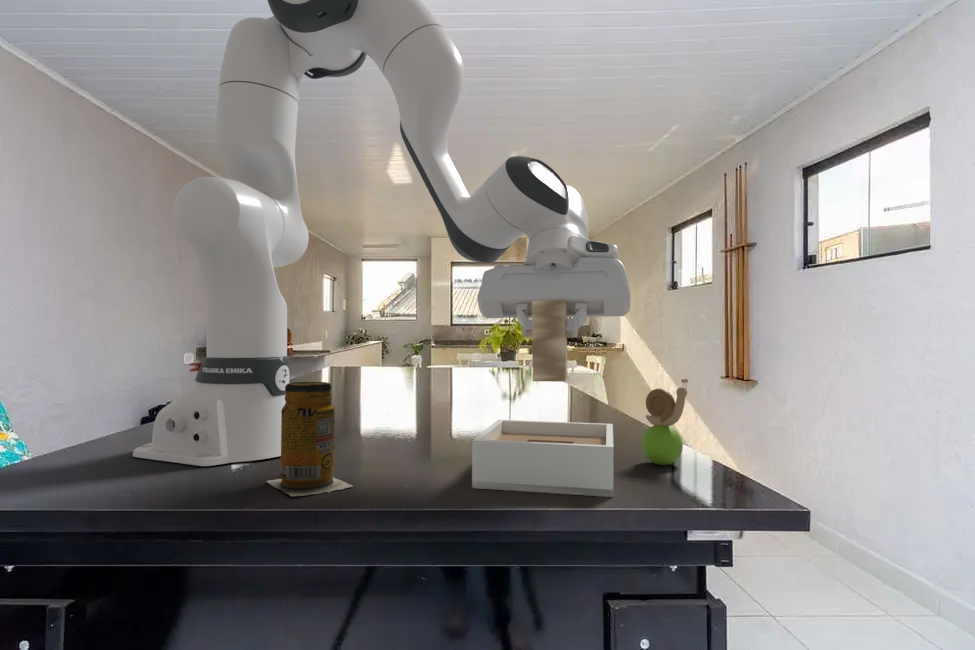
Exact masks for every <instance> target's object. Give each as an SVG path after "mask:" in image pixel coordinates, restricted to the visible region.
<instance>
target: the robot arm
mask: <svg viewBox="0 0 975 650" xmlns="http://www.w3.org/2000/svg"><path fill="white" fill-rule="evenodd" d="M267 3H268V7H269V9H270V11H271V12H272V15H273V16H271V17H267V18H264V17H257V16H255V17H247V18H242V19H241V20H239V21H237V22H236V23H235V24H234V25H233V27H232V29H231V30H230V34H229V37H228V40H227V42H226V45H225V50H224V54H223V58H222V63H221V69H220V76H219V84H218V93H217V94H218V95H217V107H216V109H217V110H216V118H215V131H214V140H215V141H214V142H215V145H216V149H217V151H218V153H219V155H220V157H221V159H222V162H223V164H224V168H225V171H226V177H227V178H225V177H216V176H201V177H197V178H195V179H192V180H190V181H189V182H188V183H186V184H185V185H183V187H182V188H181V189H180V190H179V191H178V193H177V195H176V196H175V199H174V202H173V206H172V220H173V221H172V222H173V225H174V228H175V230H176V231H177V233H178V235H179V236H180V237H181V238H182V239H183V241H184V243H186V245H187V247H188V248H189V251H190V253H191V255H192V258H193V260H194V263H195V266H196V270H197V273H198V276H199V279H200V283H201V287H202V292H203V296H204V301H205V316H206V318H205V319H206V323H205V325H206V328H205V329H206V330H205V331H206V356H205V357H203V359H202V361H200V362H193V363H189V364H188V365H189V366H194V367H193V368H190V369H189V370H188V371H189V372H197V374H196V376H195V378H194V381H195V383H193V384H192V385H191V386H190V387H189V388H187V389H186V390H185V391H183V392H182V393H181V394H180V395H178V396H177V397H176V398H175V399H173V400H172V401H170V402H169V403H168V404H166V406H164V407H163V408H161V410H159V412H158V413H157V415H156V417H155V419H154V423H153V427H152V428H153V430H152V435H151V436H152V437H151V438H152V440H151V442H148V443H146V444H143V445H140V446H138V447H136V448H135V449H133V451H132V452H133V453H132V457H134V458H140V459H147V460H154V461H162V462H170V463H176V464H177V463H178V464H184V465H191V466H199V467H211V466H217V465H225V464H230V463H239V462H240V463H241V462H252V461H259V460H265V459H271V458H278V457H281V416H282V414H281V411H282V408H283V407H284V405H285V404H286V401H285V395H286V393H285V387H286V385H287V384H288V383H291V358H290V357H289V355H288V304H287V302H286V300H285V298H284V297H283V295H282V293H281V291H280V287H279V285H278V282H277V278H276V274H275V270H274V268H280V267H286V266H290V265H292V264H295V263H296V262H298V261H300V259H301V258H302V257H303V256H304V254H305V252H306V250H307V248H308V245H309V241H310V240H309V239H310V238H309V237H310V236H309V230H308V227H307V224H306V222H305V220H304V218H303V214H302V213H303V212H302V207H301V206H302V205H301V200H300V191H299V184H298V183H299V182H298V176H297V168H296V167H297V166H296V142H297V129H298V128H297V126H298V113H299V105H300V104H299V103H300V102H299V101H300V88H301V87H300V86H301V82H302V79H303V76H304V75H305V76H306V77H308V78H309V79H311V80H318V79H323V78H326V77H327V78H340V77H345V76H348V75H351V74H353V73H355V72H357V71H358V70H359V69H360V68H361V67H362V66H363V64H364V63H365V61H366V58H367V56H368V57H370V59H371V60H372V61H373V62H374V64H375V65H376V66H377V68H378V69H379V71H380V72H381V73H382V75H383V76H384V78H385V79H386V80H387V82H388V84H389V86H390V88H391V89H392V93H393V95H394V97H395V101H396V103H397V108H398V111H399V118H400V120H399V131H400V135H401V137H402V140H403V141H402V142H403V143H404V145H405V147H406V149H407V151H408V153H409V156H410V158H411V159H412V161H413V163H414V165H415V167H416V169H417V171H418V173H419V175H420V177H421V179H422V180H423V183H424V185H425V186H426V189H427V190H428V192H429V194H430V196H431V198H432V200H433V202H434V204H435V206H436V207H437V210H438V212H439V214H440V217H441V218H442V221H443V224H444V227H445V229H446V230H445V231H446V234H447V236H448V238H449V241H450V243H451V244H452V247H453V248H454V250H455V251H456V252H457V253H458V254H459V255H460V256H461V257H462V258H464V259H466V260H468V261H472V262H474V263H475V262H476V263H483V264H489V263H490V264H492V263H495V262H497V260H499V259H500V257H501V256H503V254H504V253H506V251H507V250H508V249H509V248H510V247H511V245H512V244H514V243H515V242H516V241H517V240H518V239H520V238H521V237H522V236H523V235H526V236H527V237H528V244H527V249H526V255H525V263H524V264H513V265H512V264H511V265H496V266H493V267H492V268H490V269H487V270H484V272H483V274H482V278H481V279H482V280H481V284H480V287H479V289H478V293H477V297H476V298H477V305H478V309H479V312H480V314H481V315H482V316H483V317H484V318H485V319H486V318H487V319H504V318H505V319H506V318H507V319H511V318H513V319H517V322H518V324H519V325H520V327H521V331H522V332H521V333H522V338H525V339H526V338H532V301H549V300H565V301H566V302H567V319H566V322H565V323H566V325H565V333H566V337H567V338H578V336H579V335H578V332H579V329H580V328H581V327H582V326H583V325H584V324H585V323H586V321H588V318H592V317H593V318H594V317H595V318H599V317H600V318H601V317H607V318H608V317H625V316H626V315H627V314H628V313H629V312H630V311H631V287H630V286H631V285H630V281H629V277H628V273H627V268H626V267H625V265H624V264H623V262H621V261H620V255H619V250H618V246H617V245H615V244H613V243H608V242H601V241H596V240H592V239H589V216H588V215H589V214H588V211H587V207H586V204H585V201H584V198H583V197H582V195H581V193H579V191H577V190H576V188H574V187H573V186H570V185H569V184H566V183H565V181H564V180H563V179H562V178H561V176H559V174H558V173H557V172H556V171H555V170H554V169H553V168H552V167H550V165H548V164H547V163H545V162H544V161H542V160H540V159H538V158H534V157H530V156H522V155H517V156H516V155H515V156H510V157H507V159H506V160H505V161H504V162H503V163H502V164H501V165H500V166H499V167H498V168H497V169H495V171H494V172H492V173H491V175H489V176H488V178H487V179H486V181H484V182H483V183H482V184H481V185H480V186H479V187H478V188H477V189H476V190H475V191H474V192H473V193H472V194H471V195H470V194H469V191H468V190H467V187H466V186H465V184H464V182H463V180H462V178H461V176H460V175H459V174H460V173H459V172H458V170H457V168H456V167H455V164H454V162H453V160H452V158H451V156H450V154H449V149H448V135H449V130H450V126H451V122H452V120H453V116H454V113H455V111H456V109H457V106H458V103H459V101H460V99H461V96H462V92H463V87H464V82H465V69H464V68H465V66H464V61H463V58H462V55H461V54H460V52H459V50H458V48H457V46H456V44H455V43H454V41H453V40H452V39H451V37H450V36H449V34H448V32H446V30H445V28H444V27H443V26H442V24H441V23H440V22H439V21H438V20H437V18H436V17H435V16H434V14H433V13H432V12H431V11H430V9H429V8H428V7H427V6H426V5H425V4H424V3H423V2H422V1H421V0H267ZM529 318H530V319H529Z"/></svg>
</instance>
